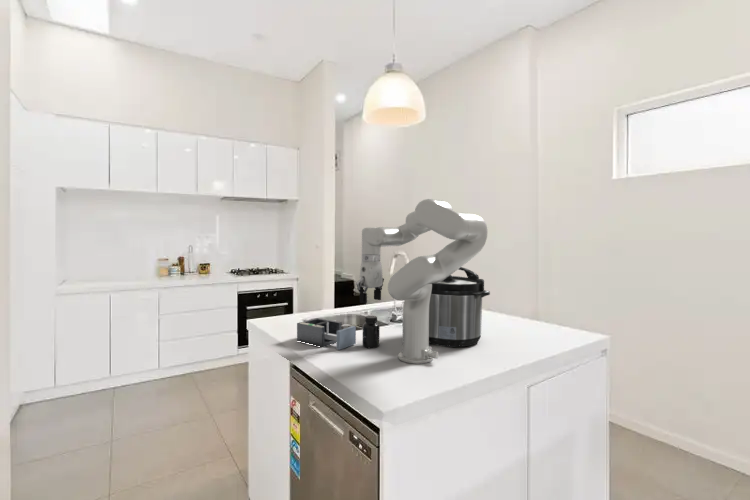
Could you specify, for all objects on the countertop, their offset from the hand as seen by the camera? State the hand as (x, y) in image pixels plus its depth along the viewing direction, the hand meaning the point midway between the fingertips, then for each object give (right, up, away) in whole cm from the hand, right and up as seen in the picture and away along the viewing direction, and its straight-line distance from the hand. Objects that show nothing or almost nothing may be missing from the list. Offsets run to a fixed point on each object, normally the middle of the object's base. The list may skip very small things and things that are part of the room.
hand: (370, 301), depth 155 cm
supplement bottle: (0, -18, +1) cm, 18 cm away
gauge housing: (-21, -18, +7) cm, 29 cm away
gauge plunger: (-15, -17, +1) cm, 23 cm away
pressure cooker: (+34, -18, +11) cm, 40 cm away
